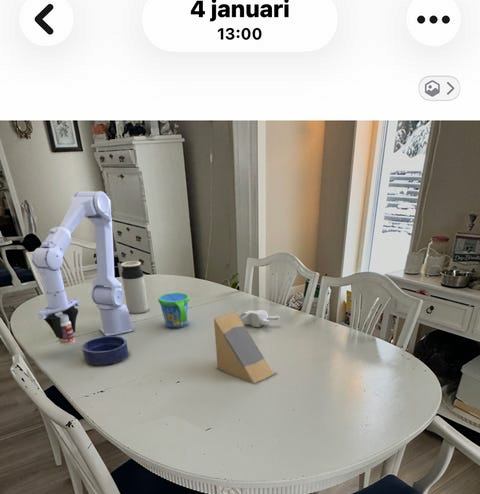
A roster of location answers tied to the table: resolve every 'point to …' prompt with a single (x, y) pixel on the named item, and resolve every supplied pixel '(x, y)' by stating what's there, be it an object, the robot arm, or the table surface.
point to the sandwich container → (238, 350)
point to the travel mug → (134, 287)
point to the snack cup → (174, 309)
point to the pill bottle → (66, 330)
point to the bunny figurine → (257, 318)
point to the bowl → (105, 350)
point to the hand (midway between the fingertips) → (66, 334)
